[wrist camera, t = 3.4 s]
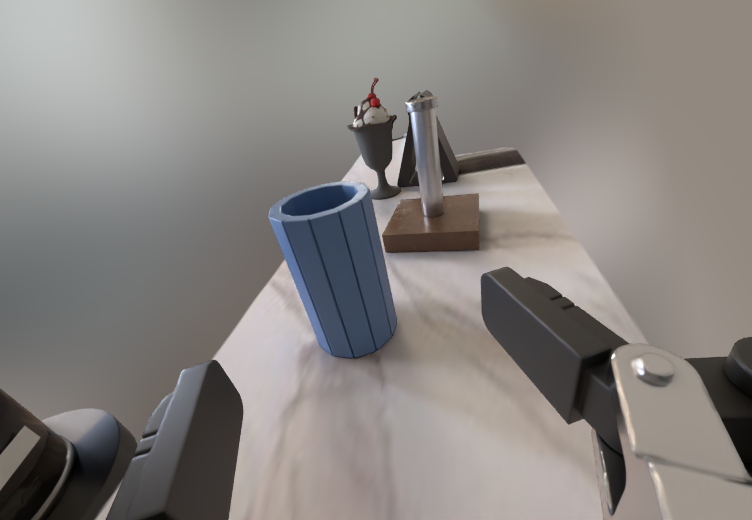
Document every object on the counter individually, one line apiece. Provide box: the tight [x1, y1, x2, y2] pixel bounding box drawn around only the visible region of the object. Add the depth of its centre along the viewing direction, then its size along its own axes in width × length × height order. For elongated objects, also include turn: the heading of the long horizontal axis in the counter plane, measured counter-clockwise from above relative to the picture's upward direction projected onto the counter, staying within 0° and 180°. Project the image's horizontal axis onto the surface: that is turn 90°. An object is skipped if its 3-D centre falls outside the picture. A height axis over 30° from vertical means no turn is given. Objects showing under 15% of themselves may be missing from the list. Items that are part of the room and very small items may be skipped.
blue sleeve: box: [269, 181, 397, 358], centre depth 20 cm, size 6×6×10 cm
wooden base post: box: [382, 96, 479, 252], centre depth 30 cm, size 9×9×13 cm
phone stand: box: [397, 90, 459, 187], centre depth 46 cm, size 9×6×12 cm, turn 74°
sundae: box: [348, 78, 401, 199], centre depth 43 cm, size 7×7×15 cm
